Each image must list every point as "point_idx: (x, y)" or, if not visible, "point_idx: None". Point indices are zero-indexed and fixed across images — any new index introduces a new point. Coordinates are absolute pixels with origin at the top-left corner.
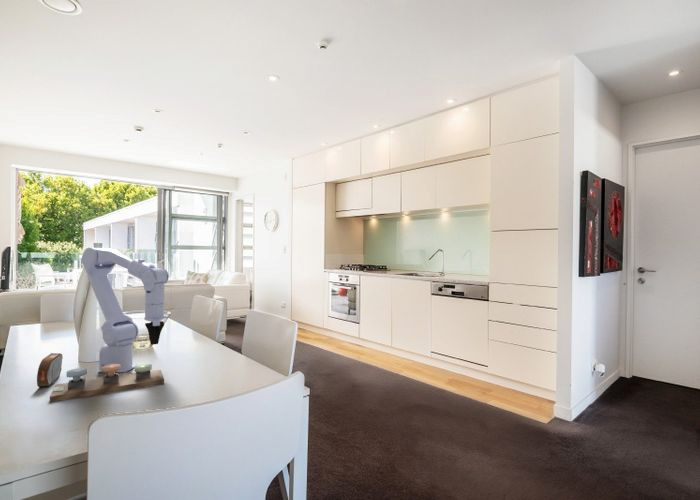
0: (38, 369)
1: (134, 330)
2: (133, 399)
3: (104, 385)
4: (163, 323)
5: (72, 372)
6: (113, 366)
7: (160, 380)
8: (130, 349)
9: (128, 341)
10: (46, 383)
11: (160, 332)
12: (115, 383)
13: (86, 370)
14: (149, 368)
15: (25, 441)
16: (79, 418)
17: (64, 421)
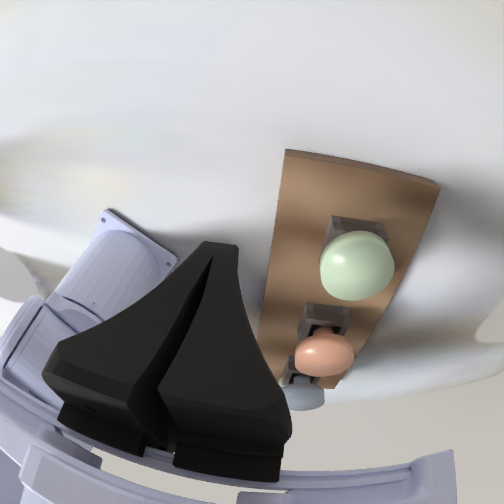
0: None
1: (35, 342)
2: (469, 279)
3: (346, 332)
4: (213, 417)
5: (313, 406)
6: (334, 359)
7: (434, 200)
8: (105, 292)
9: (85, 326)
10: None
11: (246, 320)
12: (351, 313)
13: (311, 392)
14: (389, 251)
15: (461, 378)
16: (458, 348)
17: (448, 360)
